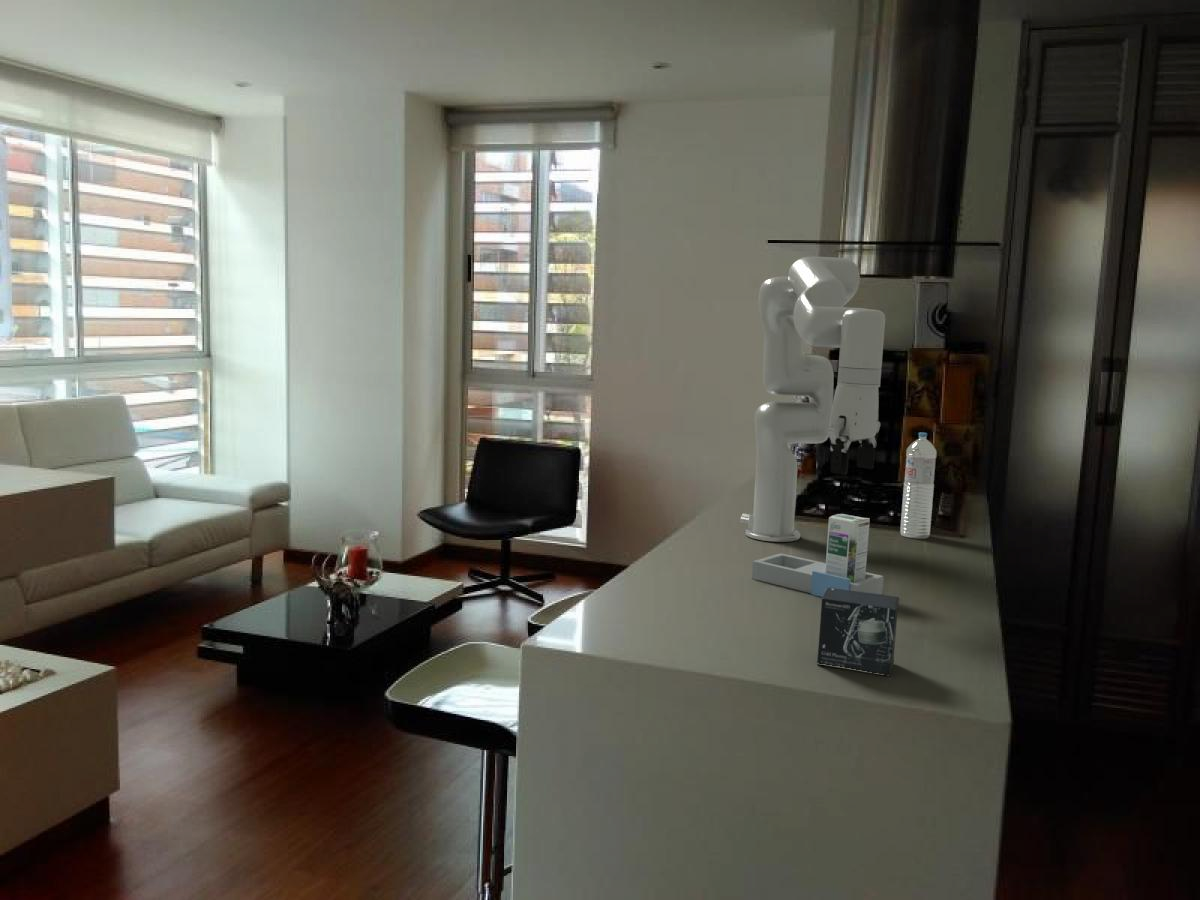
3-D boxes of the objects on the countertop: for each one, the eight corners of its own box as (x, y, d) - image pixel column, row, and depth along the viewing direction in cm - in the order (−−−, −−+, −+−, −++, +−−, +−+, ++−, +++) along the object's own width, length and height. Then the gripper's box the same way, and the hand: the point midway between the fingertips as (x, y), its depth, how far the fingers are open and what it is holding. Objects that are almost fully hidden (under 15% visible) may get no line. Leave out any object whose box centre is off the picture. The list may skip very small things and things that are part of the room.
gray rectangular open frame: (750, 579, 187) (751, 557, 186) (779, 570, 194) (780, 548, 194) (854, 605, 172) (856, 581, 171) (882, 594, 179) (883, 571, 179)
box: (815, 666, 141) (820, 597, 139) (822, 652, 147) (826, 586, 145) (891, 678, 137) (896, 607, 135) (894, 663, 143) (899, 595, 141)
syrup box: (822, 592, 179) (827, 516, 177) (838, 586, 184) (843, 512, 182) (850, 599, 175) (855, 521, 173) (865, 593, 180) (871, 517, 178)
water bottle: (931, 540, 226) (940, 435, 223) (901, 538, 227) (909, 433, 224) (927, 534, 233) (936, 432, 229) (898, 532, 234) (906, 430, 231)
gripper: (863, 374, 182) (856, 463, 185) (816, 377, 170) (809, 472, 172) (900, 377, 177) (892, 468, 180) (854, 381, 165) (847, 479, 167)
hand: (852, 470), depth 176 cm, fingers open, 9 cm apart
